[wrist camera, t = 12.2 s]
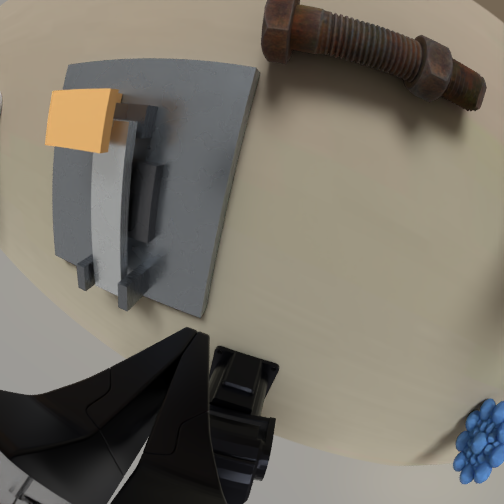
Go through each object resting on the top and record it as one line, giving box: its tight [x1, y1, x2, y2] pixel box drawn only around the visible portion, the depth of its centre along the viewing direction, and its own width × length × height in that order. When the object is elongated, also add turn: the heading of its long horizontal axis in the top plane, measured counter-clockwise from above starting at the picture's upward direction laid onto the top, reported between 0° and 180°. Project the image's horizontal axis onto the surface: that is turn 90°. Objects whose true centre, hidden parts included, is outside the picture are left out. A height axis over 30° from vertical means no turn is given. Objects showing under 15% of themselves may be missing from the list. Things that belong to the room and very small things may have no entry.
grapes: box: [453, 399, 504, 484], centre depth 19 cm, size 12×7×12 cm, turn 164°
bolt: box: [261, 0, 486, 111], centre depth 12 cm, size 6×5×15 cm
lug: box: [45, 88, 122, 153], centre depth 16 cm, size 4×6×5 cm, turn 76°
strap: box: [91, 119, 138, 296], centre depth 19 cm, size 14×3×1 cm, turn 166°
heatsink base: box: [53, 58, 260, 318], centre depth 19 cm, size 20×18×5 cm
